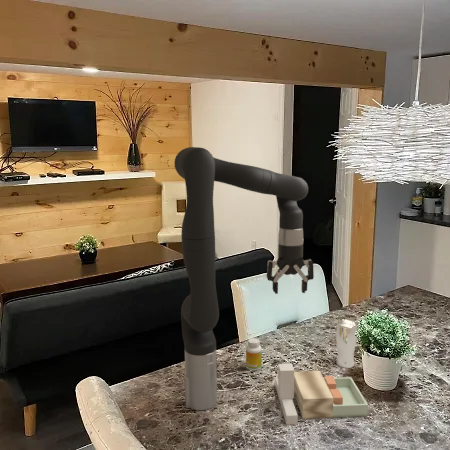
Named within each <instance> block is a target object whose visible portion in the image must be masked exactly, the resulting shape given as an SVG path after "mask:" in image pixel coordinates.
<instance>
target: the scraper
mask: <svg viewBox="0 0 450 450" xmlns="http://www.w3.org/2000/svg"><path fill="white" fill-rule="evenodd" d="M277 366H278V367H277V368H278V369H277V371H278V372H277V373H278V374H277V377H274V378H275V381H274V382H275V383H274V384H275V385H274V387H275V389H276V393H277V396H278V401H279V403H280V407H281V410H282V415H283V417H284V421H285V424H286V426H292V425H298V417H299V415H298V412H297V410H296V407H295V404H294V400H293V399H294V398H295V395H294V372H295V367H294V365H293V363H278V364H277Z"/></svg>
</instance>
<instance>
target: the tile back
mask: <svg viewBox="0 0 450 450" xmlns="http://www.w3.org/2000/svg"><path fill="white" fill-rule="evenodd" d="M324 378H325V382H326V384H327V386H328V388H329V390H330V389H336V382H335V380H334V378H335V377H334V376H333V375H325V376H324Z"/></svg>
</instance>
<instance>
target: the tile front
mask: <svg viewBox="0 0 450 450" xmlns="http://www.w3.org/2000/svg"><path fill="white" fill-rule="evenodd" d="M330 392H331V394H332V396H333V402H334V404H335V405H343V397H342V395H341V393H340V391H339V389H330Z"/></svg>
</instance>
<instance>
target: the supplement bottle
mask: <svg viewBox="0 0 450 450" xmlns="http://www.w3.org/2000/svg"><path fill="white" fill-rule="evenodd" d="M260 342H261V340H260V339H259V338H256V337H255V338H254V337H251V338H249V339H248V340H247V345H246V348H245V366H246V369H248V370H250V371H258V370H260V369H261V368H262V367H263V366H262V363H263V362H262V359H263V357H262V356H263V355H262V354H263V353H262V352H263V351H262V349H263V348H262V346H261V345H260V344H261V343H260Z"/></svg>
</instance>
